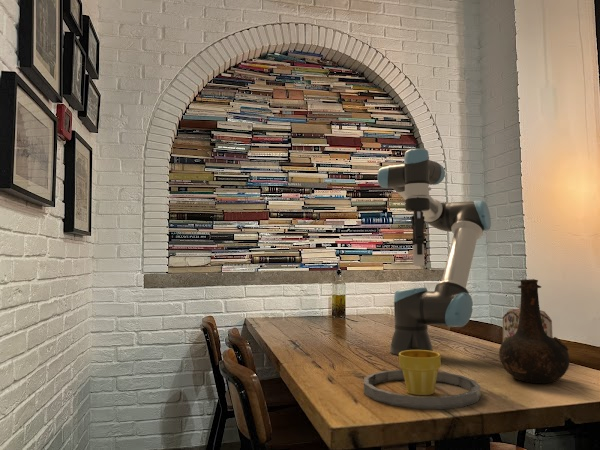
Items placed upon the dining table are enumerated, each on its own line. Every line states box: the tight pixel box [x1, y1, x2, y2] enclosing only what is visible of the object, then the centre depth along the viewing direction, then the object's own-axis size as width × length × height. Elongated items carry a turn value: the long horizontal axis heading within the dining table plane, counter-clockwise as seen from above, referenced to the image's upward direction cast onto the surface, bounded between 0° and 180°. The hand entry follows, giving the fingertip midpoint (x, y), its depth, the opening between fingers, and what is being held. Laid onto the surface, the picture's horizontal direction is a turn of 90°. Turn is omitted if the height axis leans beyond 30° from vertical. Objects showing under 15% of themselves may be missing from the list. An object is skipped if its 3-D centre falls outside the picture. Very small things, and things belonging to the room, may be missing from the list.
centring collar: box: [363, 369, 482, 410], centre depth 126 cm, size 28×28×2 cm
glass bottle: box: [498, 278, 570, 384], centre depth 139 cm, size 18×18×28 cm
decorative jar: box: [502, 303, 554, 343], centre depth 171 cm, size 12×12×18 cm
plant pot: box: [398, 350, 442, 396], centre depth 126 cm, size 10×10×10 cm
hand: (418, 265), depth 155 cm, fingers open, 13 cm apart
